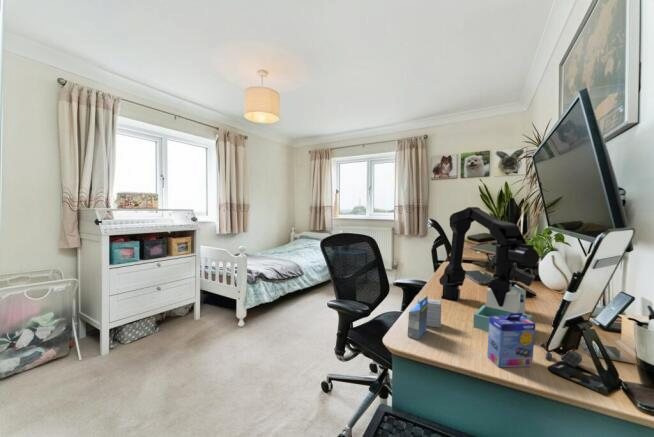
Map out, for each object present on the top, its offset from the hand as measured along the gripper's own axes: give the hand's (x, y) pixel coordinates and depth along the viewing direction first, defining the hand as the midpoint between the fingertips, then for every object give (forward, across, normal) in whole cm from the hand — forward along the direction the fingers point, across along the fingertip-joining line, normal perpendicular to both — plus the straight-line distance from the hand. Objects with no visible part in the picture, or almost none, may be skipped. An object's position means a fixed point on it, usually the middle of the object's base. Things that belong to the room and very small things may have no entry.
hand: (502, 304), depth 96 cm
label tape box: (+9, -25, +20) cm, 33 cm away
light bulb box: (+9, +19, +1) cm, 21 cm away
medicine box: (+9, -15, +20) cm, 26 cm away
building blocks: (+9, -13, -16) cm, 23 cm away
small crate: (+1, 0, 0) cm, 1 cm away
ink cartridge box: (+9, -23, -6) cm, 25 cm away
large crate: (+9, 0, 0) cm, 9 cm away
